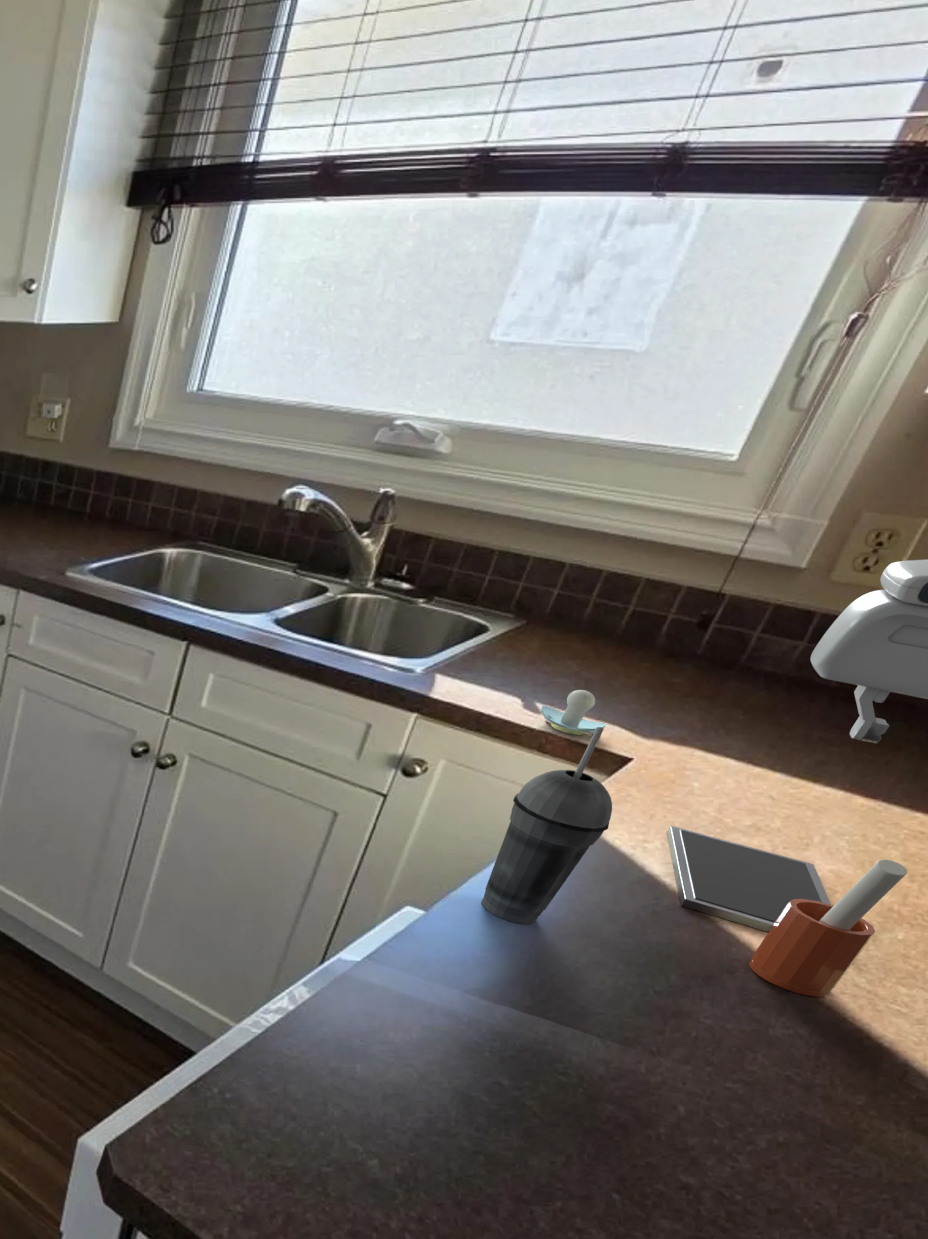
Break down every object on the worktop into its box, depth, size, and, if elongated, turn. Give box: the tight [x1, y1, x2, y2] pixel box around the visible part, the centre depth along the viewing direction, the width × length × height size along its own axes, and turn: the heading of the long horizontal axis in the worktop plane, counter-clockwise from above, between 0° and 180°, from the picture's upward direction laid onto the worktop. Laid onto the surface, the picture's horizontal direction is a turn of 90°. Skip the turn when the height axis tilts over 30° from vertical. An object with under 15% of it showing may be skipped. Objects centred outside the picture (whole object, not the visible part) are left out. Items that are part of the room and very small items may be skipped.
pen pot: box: [748, 899, 876, 998], centre depth 92 cm, size 5×5×7 cm
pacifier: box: [540, 689, 607, 736], centre depth 143 cm, size 7×6×6 cm
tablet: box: [666, 825, 832, 933], centre depth 108 cm, size 12×20×1 cm, turn 141°
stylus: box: [819, 859, 908, 930], centre depth 90 cm, size 2×2×14 cm
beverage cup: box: [481, 727, 613, 925], centre depth 97 cm, size 7×7×20 cm
